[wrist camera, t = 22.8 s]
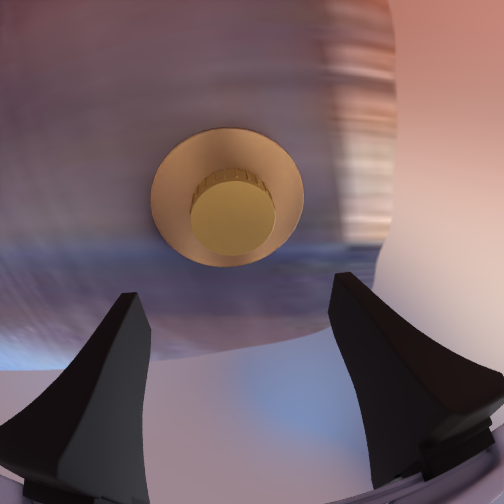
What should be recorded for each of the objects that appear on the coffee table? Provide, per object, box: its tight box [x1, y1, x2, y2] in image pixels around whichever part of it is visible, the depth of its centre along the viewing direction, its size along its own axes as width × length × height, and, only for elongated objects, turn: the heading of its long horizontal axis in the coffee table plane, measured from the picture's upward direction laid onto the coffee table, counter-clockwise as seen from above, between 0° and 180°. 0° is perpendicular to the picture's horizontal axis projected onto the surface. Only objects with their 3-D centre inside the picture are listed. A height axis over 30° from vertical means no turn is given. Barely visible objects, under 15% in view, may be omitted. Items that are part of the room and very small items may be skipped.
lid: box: [189, 168, 276, 256], centre depth 17 cm, size 5×5×2 cm
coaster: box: [150, 127, 304, 267], centre depth 18 cm, size 9×9×1 cm
